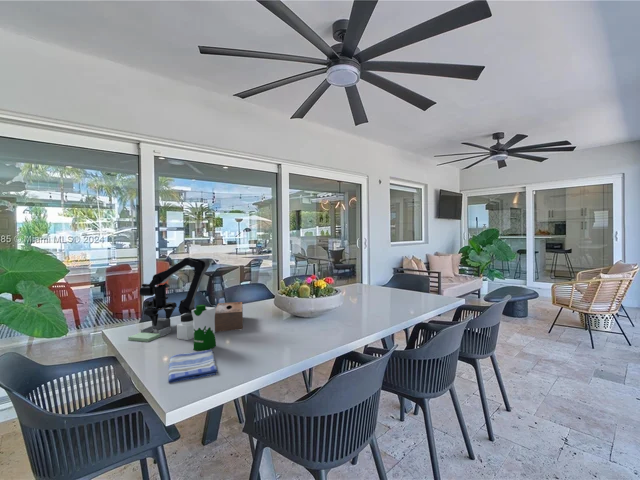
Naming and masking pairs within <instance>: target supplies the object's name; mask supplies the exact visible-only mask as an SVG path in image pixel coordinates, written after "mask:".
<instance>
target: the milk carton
mask: <svg viewBox="0 0 640 480" xmlns="http://www.w3.org/2000/svg"><path fill="white" fill-rule="evenodd" d="M215 311H216V307H210V306H206V304H204V303H203V304H197V305H196V306H195V309H194V310H191V312H192V316H193V327H194V338H193V350H194V351H198V352H199V351H205V350H210V349H211V350H212V349H213V348H215V347H217V342H216V341H217V340H216V332H215Z"/></svg>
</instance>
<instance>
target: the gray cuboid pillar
mask: <svg viewBox="0 0 640 480" xmlns="http://www.w3.org/2000/svg"><path fill="white" fill-rule="evenodd" d="M151 326H153V330H158V331H159V330H162V329H164V328H167V327H170V328H171V318H170V319H167V318H166V317H164V318H163V317H158V320H157V325H156V326H154V324H153V322H152V321H151Z"/></svg>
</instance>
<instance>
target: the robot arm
mask: <svg viewBox="0 0 640 480" xmlns="http://www.w3.org/2000/svg"><path fill="white" fill-rule="evenodd" d="M210 264H211V263H210V262H209V260H208V259H206V258H202V259H199V258H198V259H197V258H193V257H184V258H183V259H182V260H180V261H178V262H177V263H176V264H174V265H172V266H170V268H168V269H166V270H164V271H163V270H162V271H161V272H158V273H155V274H153V275H152V280H151V281H150V282H149V283H142V284H141V287H140V289H139V295H140V296H141V297H153V296H154V297H153V298H152V301H150V300H147V301H144V302H143V305H144V308H145V309H144V310H143V315H145V316H148V317H149V318H150V319H151V323H152V322H153V324H154V326H156V325H157V320H158V318H159V311H162V310H163V311H164V312H165V318H167V319H170V320H171V317H172V314H173V312H174V311H175V309H176V308H178V312H179V314H180V316H181V315H182V314H185V313H192V312H191V310H194V309H196V307H195V302H196V301H195V298H196V296H197V293H198V290H199V288H200V284H201V282H202V280H203V276H204V275H205V274H206V272H207V271H208V269H209V268H210V266H211V265H210ZM188 266H189V267H191V268H193V273H194V274H193V277H192V280H191V282H190V285H189V288H188V290H187V294H186V296H185V298H184V299H181V300H180V302H179V306H178V305H177V303H176V302H173V301H168V302H167V300H168V299H169V296H167V288H170V287H171V285H169V284H168V283H167V281H168V280H170V278H171V277H172V276H173V275H175V274H176V273H178V272H180V271H181V270H183V269H184V268H186V267H188Z"/></svg>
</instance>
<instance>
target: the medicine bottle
mask: <svg viewBox="0 0 640 480" xmlns="http://www.w3.org/2000/svg"><path fill="white" fill-rule="evenodd" d="M176 337H177V340H182V341H189V340H193V339H194V327H193V316H192V313H185V314H182V315H181V314H180V323H178V324H177V325H176Z"/></svg>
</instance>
